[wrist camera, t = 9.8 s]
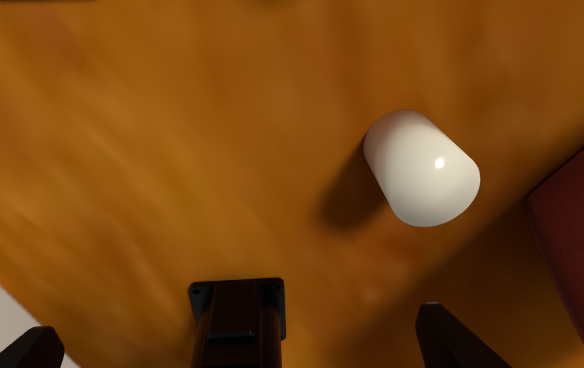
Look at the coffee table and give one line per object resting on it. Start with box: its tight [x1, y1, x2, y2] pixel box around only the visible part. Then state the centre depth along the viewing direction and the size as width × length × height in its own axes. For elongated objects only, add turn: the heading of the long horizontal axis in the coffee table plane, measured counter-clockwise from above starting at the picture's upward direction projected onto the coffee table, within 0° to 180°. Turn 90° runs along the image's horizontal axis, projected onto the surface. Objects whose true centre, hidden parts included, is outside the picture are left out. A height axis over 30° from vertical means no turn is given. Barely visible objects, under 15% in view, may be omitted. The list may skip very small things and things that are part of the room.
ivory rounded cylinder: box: [363, 109, 480, 227], centre depth 18 cm, size 4×4×5 cm
